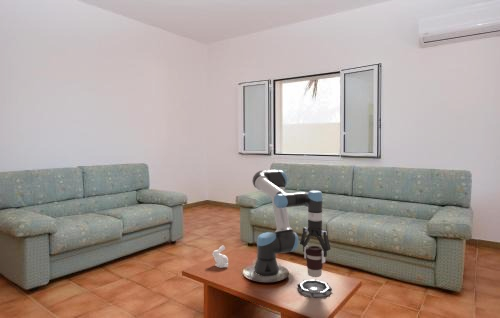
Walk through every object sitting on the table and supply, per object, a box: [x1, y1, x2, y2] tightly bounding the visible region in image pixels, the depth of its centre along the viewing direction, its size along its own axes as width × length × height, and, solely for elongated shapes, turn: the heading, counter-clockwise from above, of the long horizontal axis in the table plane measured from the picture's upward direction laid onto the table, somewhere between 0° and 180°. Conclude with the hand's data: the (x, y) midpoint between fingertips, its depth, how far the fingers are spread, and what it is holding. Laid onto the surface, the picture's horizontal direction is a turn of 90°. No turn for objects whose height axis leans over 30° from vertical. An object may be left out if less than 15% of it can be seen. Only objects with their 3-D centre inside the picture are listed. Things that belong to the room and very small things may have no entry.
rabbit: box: [212, 244, 229, 269], centre depth 209 cm, size 12×9×12 cm
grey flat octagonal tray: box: [296, 279, 333, 299], centre depth 175 cm, size 18×18×2 cm
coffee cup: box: [306, 245, 324, 278], centre depth 174 cm, size 10×10×15 cm
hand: (314, 260), depth 174 cm, fingers closed on coffee cup, 10 cm apart
